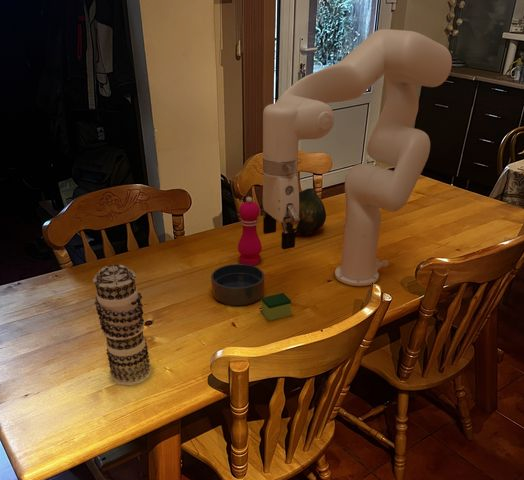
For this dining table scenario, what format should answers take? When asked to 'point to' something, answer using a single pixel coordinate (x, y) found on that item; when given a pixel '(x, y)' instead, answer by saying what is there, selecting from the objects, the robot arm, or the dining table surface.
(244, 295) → the bowl
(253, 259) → the pepper mill
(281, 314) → the sponge
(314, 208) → the squash
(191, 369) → the dining table surface
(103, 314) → the decorative candle
